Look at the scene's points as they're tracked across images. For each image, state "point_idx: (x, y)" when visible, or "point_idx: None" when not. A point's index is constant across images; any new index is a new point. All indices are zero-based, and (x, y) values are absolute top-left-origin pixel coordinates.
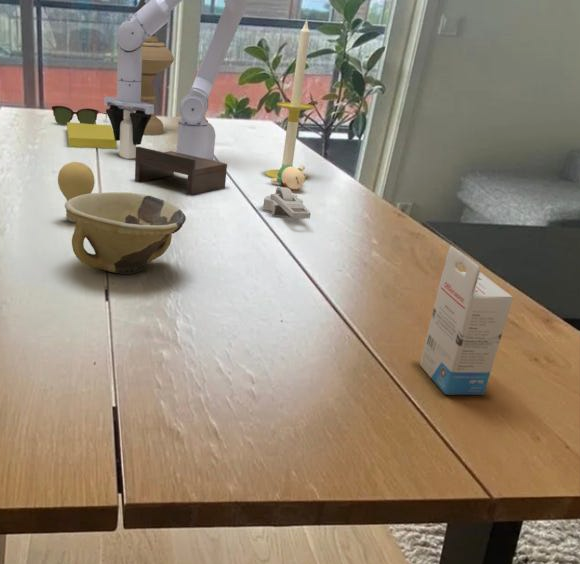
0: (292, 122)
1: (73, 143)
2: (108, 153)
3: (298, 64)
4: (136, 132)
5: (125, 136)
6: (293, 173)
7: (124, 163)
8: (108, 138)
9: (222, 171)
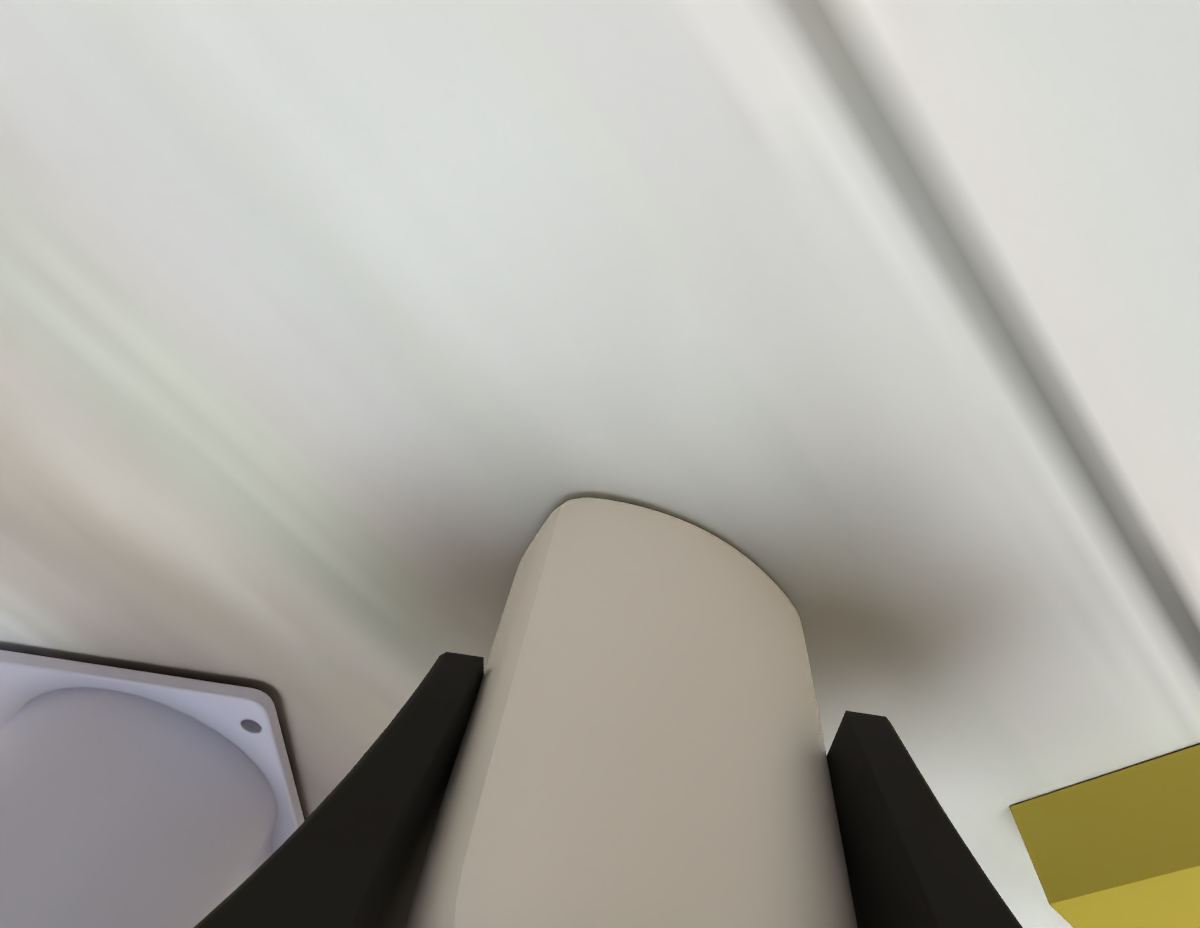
0: None
1: None
2: (968, 594)
3: None
4: (321, 812)
5: (584, 719)
6: None
7: (413, 246)
8: (1174, 905)
9: None
